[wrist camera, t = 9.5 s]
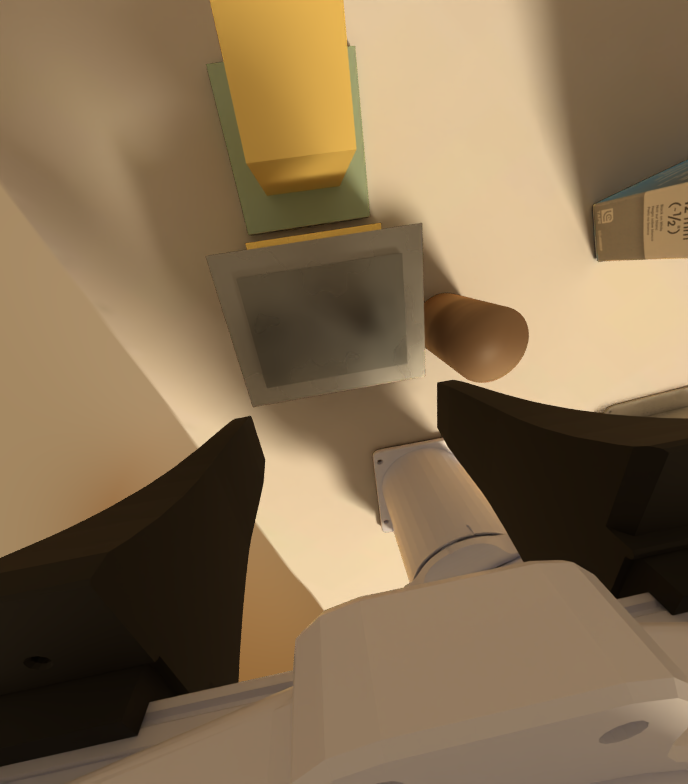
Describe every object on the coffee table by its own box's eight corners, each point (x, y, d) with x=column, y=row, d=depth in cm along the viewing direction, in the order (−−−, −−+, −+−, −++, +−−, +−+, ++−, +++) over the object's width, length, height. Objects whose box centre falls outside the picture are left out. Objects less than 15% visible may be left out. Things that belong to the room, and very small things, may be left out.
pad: (368, 217, 17) (370, 216, 17) (249, 235, 17) (248, 234, 16) (353, 51, 14) (355, 45, 14) (208, 69, 14) (205, 64, 13)
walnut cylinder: (468, 345, 21) (523, 375, 16) (415, 355, 21) (452, 388, 16) (471, 288, 20) (533, 300, 14) (413, 298, 19) (454, 313, 14)
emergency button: (613, 559, 28) (650, 431, 22) (575, 521, 32) (597, 404, 26) (705, 535, 28) (769, 401, 22) (656, 501, 32) (698, 379, 26)
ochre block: (339, 186, 16) (356, 149, 11) (267, 195, 16) (246, 163, 10) (328, 88, 14) (342, -16, 9) (246, 97, 14) (209, -3, 9)
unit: (394, 345, 21) (427, 378, 15) (267, 367, 20) (251, 409, 14) (386, 228, 17) (424, 213, 12) (236, 251, 17) (200, 247, 11)
